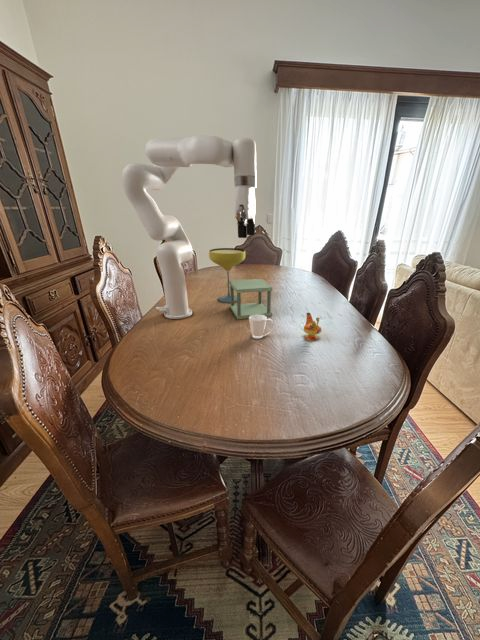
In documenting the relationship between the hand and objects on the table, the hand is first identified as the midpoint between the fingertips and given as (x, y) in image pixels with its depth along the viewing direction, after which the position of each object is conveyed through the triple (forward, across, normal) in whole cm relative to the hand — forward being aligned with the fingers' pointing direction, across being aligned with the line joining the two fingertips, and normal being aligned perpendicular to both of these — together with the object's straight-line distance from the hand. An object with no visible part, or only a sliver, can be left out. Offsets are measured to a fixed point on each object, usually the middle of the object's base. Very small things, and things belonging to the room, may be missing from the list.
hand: (246, 236), depth 106 cm
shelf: (+35, -16, -5) cm, 39 cm away
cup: (+36, +9, +8) cm, 38 cm away
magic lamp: (+36, +3, +27) cm, 45 cm away
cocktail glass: (+35, -30, -21) cm, 51 cm away
